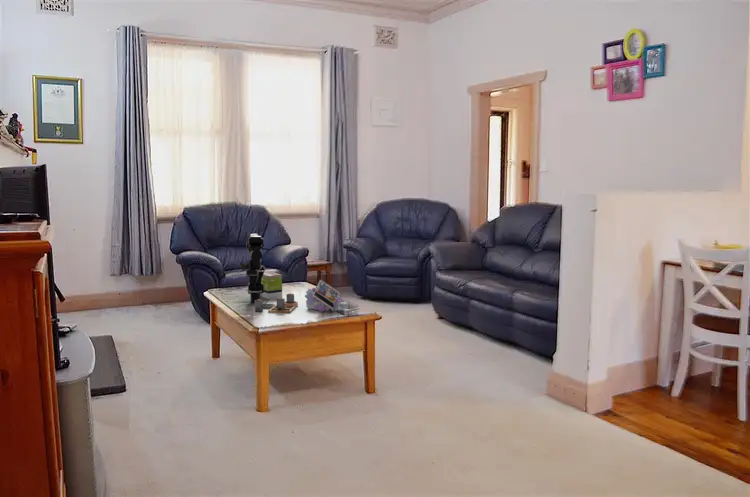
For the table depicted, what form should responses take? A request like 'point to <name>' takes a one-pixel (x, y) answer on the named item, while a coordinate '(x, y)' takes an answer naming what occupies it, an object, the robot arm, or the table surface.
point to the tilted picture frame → (322, 297)
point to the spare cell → (258, 305)
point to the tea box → (272, 285)
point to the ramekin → (291, 304)
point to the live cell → (281, 304)
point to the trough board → (287, 310)
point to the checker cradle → (268, 306)
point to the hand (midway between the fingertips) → (256, 285)
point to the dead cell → (290, 298)
